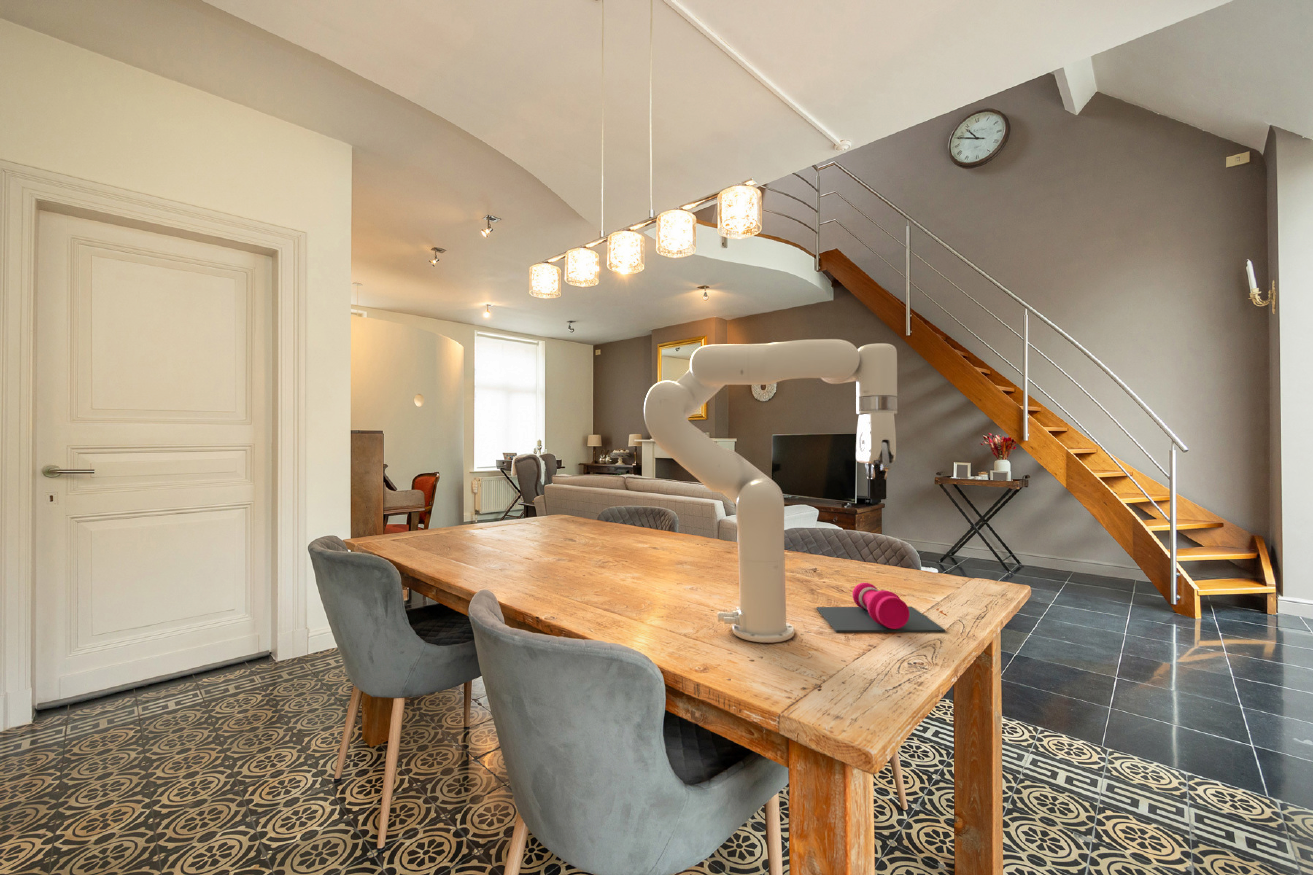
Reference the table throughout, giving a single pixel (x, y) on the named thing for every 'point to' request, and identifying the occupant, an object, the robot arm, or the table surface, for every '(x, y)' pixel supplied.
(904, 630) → the mat
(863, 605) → the pepper mill
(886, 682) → the table surface
